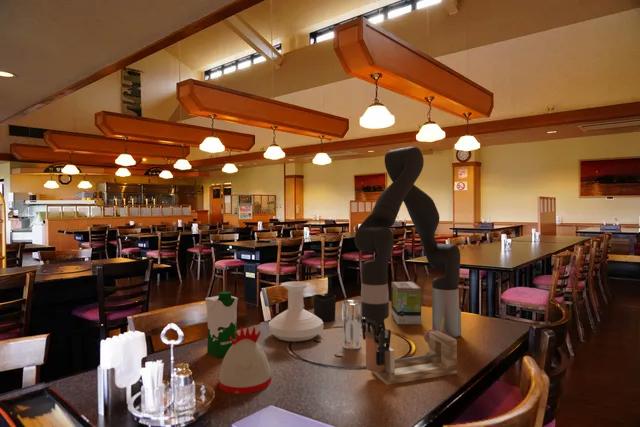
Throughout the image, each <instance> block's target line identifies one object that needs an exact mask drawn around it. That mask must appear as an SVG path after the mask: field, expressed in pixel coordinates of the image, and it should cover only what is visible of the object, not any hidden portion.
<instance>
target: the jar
mask: <svg viewBox="0 0 640 427" xmlns="http://www.w3.org/2000/svg"><path fill="white" fill-rule="evenodd" d="M365 336H366V342H365V368H366V370H367V371H369V372H372V371H373V372H380V371H383V370H385V364H384V365H380V366H378V365H377V364H376V347H375V343H374V342H373V335H372V333H371V332H370V331H368V332H367V331H365ZM376 339H380V335H379V336H377V335H376ZM378 344H379V343H378Z"/></svg>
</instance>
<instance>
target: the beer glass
mask: <svg viewBox="0 0 640 427" xmlns="http://www.w3.org/2000/svg"><path fill="white" fill-rule="evenodd" d="M361 318H363V317H362V315H361V300H356V299H347V300H343V301H342V302H341V322H342V329H343V343H342V347H343V348H344V349H347V350H358V349H361V348H362V343H361V331H362V324H361Z"/></svg>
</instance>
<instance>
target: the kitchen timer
mask: <svg viewBox="0 0 640 427" xmlns="http://www.w3.org/2000/svg"><path fill="white" fill-rule="evenodd" d="M235 334H236V338H237V339H236V340H233V339H232V338H231V337H230V339H231V342H232V343H233V345H232V346H231V347H230V348H229V350H228V351H227V353H226V355H225V356H224V357H223V360H222V362H221V366H220V369H219V373H218V374H219V375H218V387H219V389H220V390H222V391H224V392H226V393H229V394H238V395H245V394H251V393H256V392H259V391H262V390H264V389H265V387H266V388H267V387H269V385H270V384H271V382H272V371H271V366H270V364H269V360H268V357H267V355H268V353H267V351H265V350H264V349H263V348H262V346H261V345H260V344H259V343H258V342H257V341H258V339H259V337H260V335H261V330H259V331H258V332H257V333H256V327H255V326H253V328H252V331H251V333H250V330H249V327H248V326H246V331H245V332H244V329H243V326H241V327H240V334H239V333H238V331H237V332H235ZM258 390H259V391H258ZM255 391H256V392H255Z"/></svg>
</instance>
